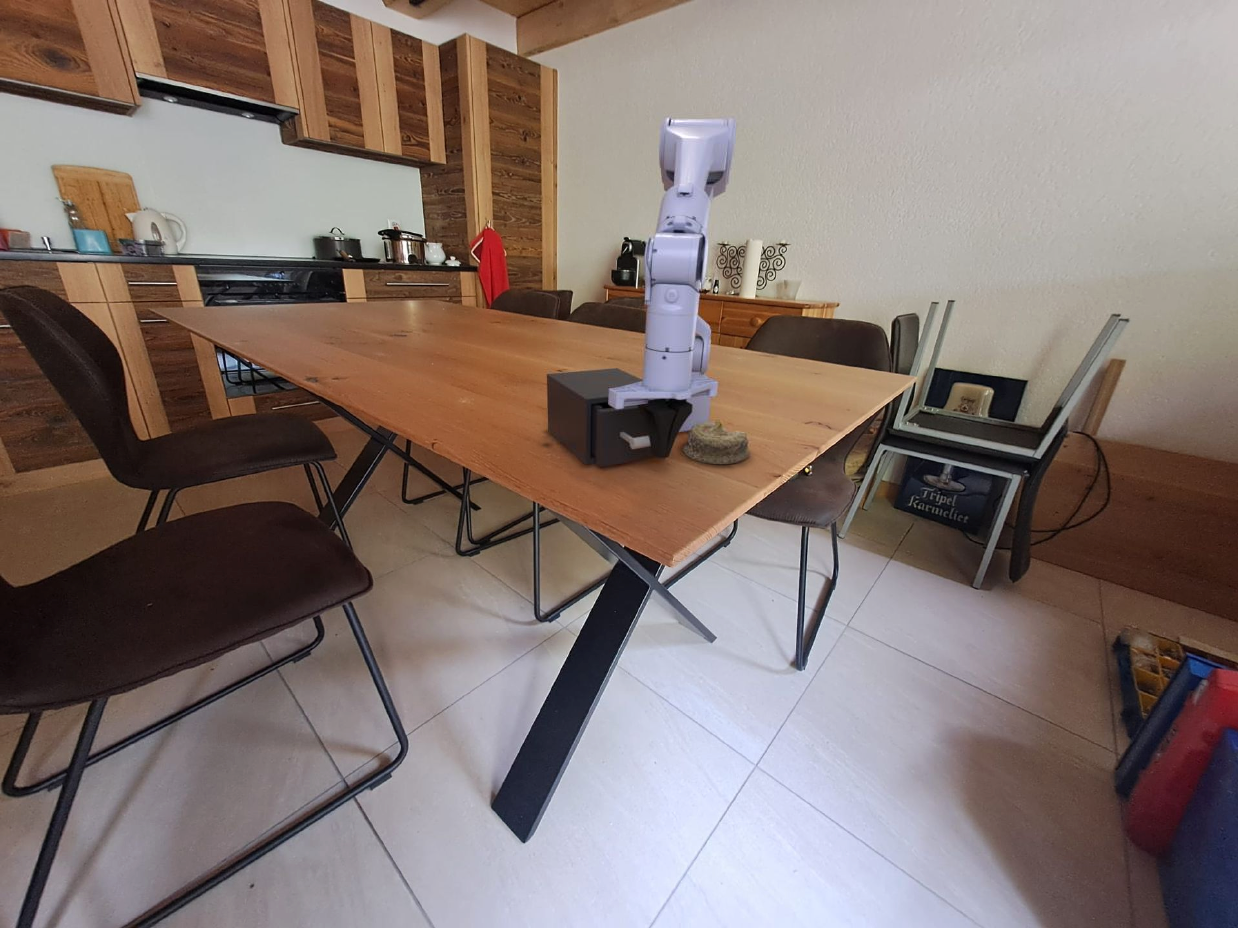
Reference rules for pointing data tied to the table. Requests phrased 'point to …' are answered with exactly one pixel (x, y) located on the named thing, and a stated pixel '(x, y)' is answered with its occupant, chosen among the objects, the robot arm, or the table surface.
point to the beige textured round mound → (716, 444)
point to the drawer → (618, 435)
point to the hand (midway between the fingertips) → (660, 455)
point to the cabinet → (580, 405)
